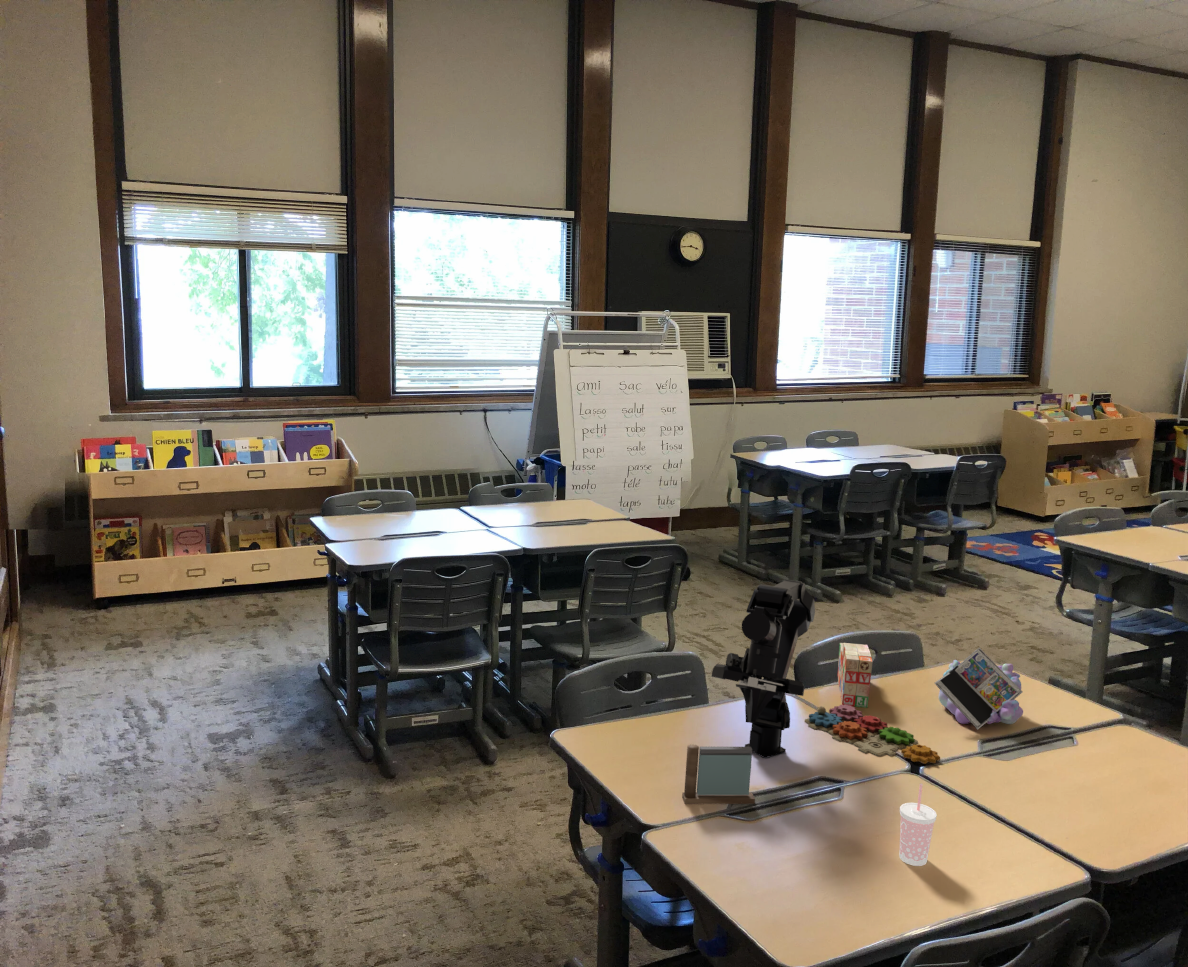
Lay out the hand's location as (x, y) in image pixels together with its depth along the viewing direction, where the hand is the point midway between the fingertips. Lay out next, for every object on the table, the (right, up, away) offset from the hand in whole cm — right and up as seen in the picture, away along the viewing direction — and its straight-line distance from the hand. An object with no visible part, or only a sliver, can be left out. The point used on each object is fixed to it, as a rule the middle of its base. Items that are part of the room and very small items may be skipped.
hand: (751, 722), depth 197 cm
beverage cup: (+24, -17, -27) cm, 40 cm away
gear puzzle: (+31, -10, +23) cm, 40 cm away
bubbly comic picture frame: (+61, -8, +38) cm, 72 cm away
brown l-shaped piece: (-8, -13, -9) cm, 18 cm away
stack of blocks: (+34, -5, +52) cm, 62 cm away
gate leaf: (-7, -11, -9) cm, 16 cm away
